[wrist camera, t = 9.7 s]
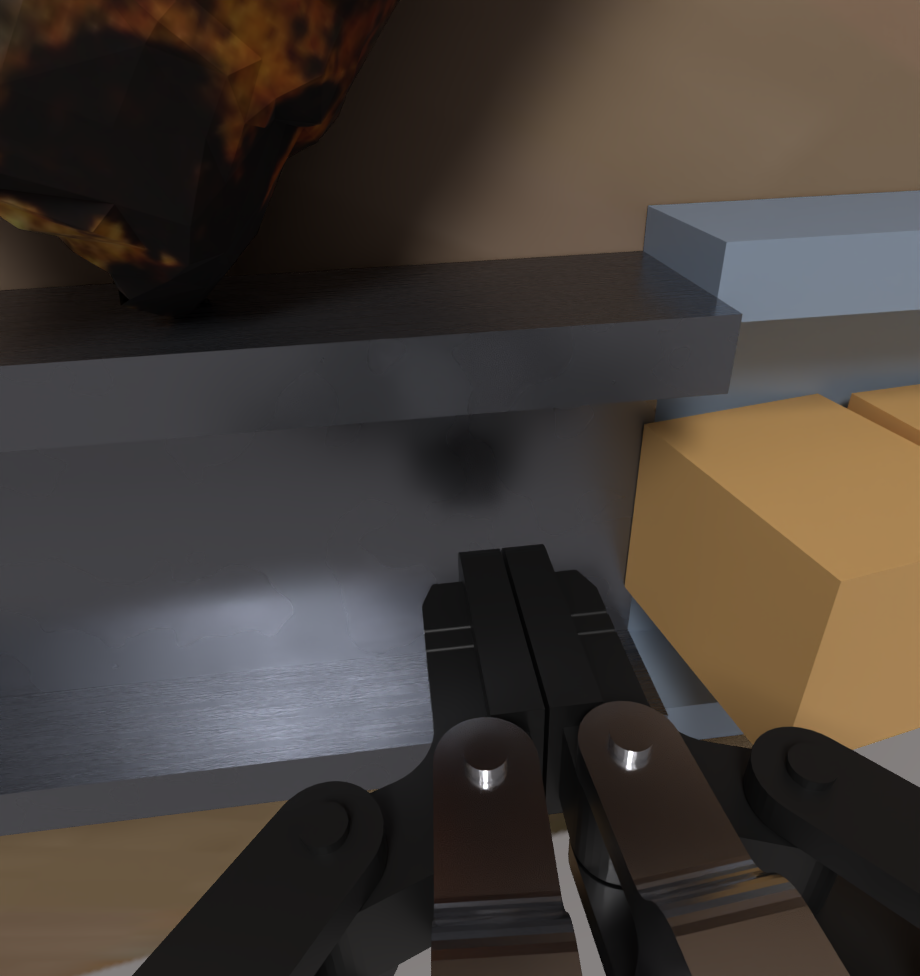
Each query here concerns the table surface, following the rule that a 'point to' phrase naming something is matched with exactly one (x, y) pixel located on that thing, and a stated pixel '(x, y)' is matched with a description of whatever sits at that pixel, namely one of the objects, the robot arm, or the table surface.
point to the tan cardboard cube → (786, 564)
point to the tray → (788, 336)
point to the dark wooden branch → (166, 125)
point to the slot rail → (302, 509)
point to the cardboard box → (891, 409)
